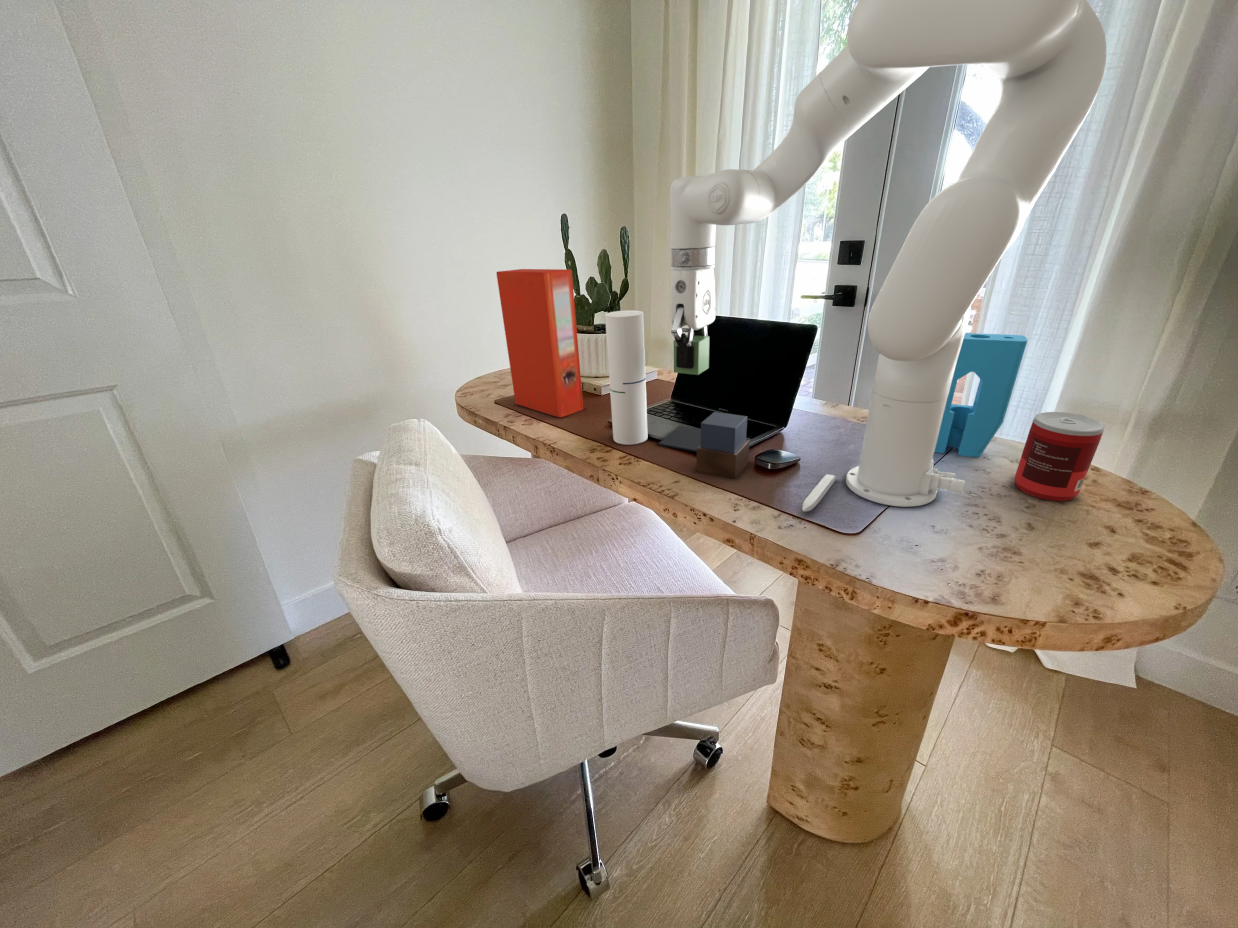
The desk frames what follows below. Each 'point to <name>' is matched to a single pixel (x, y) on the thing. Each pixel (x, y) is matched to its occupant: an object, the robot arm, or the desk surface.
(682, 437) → the coaster
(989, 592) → the desk surface
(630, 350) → the cylindrical container
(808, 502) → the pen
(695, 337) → the green block
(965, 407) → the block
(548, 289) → the file binder
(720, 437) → the mid block
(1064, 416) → the canned food
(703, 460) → the base block
